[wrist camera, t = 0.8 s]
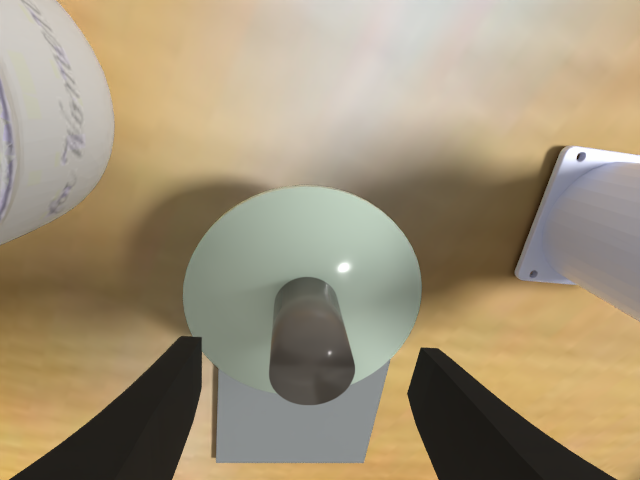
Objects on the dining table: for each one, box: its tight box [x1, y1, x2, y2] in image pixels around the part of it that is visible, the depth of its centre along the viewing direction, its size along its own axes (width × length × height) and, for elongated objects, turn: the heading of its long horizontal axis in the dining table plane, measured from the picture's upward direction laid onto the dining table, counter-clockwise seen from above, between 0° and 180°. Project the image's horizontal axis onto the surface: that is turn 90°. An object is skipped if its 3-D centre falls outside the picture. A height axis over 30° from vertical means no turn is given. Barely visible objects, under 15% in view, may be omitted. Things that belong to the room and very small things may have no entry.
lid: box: [183, 185, 422, 405], centre depth 13 cm, size 10×10×5 cm
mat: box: [216, 360, 390, 463], centre depth 22 cm, size 11×11×1 cm
